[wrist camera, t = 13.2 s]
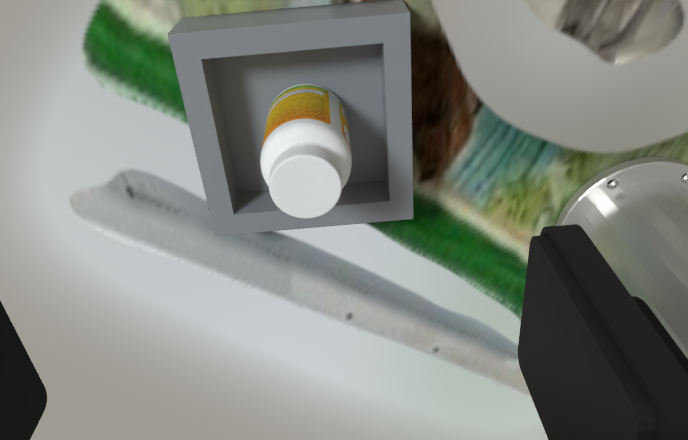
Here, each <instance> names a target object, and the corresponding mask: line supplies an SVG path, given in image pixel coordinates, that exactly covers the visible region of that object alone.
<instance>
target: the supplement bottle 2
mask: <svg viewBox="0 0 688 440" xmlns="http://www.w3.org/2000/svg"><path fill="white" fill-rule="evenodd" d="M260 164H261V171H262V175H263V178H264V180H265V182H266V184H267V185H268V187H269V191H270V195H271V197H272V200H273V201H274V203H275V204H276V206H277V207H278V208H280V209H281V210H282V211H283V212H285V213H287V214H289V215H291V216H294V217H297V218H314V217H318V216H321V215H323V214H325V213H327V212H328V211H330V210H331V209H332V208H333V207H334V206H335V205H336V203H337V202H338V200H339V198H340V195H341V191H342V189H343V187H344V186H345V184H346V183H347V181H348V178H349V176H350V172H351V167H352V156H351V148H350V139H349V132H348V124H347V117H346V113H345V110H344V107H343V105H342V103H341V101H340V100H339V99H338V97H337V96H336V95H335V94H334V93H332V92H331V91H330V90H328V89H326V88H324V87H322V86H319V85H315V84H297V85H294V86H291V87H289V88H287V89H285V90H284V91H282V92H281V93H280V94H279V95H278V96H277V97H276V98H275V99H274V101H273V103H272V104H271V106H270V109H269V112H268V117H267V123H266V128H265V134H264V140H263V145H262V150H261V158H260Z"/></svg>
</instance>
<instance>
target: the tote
mask: <svg viewBox="0 0 688 440" xmlns="http://www.w3.org/2000/svg"><path fill="white" fill-rule="evenodd" d="M168 38H169V42H170V46H171V51H172V55H173V59H174V63H175V68H176V72H177V76H178V80H179V85H180V89H181V93H182V97H183V101H184V106H185V110H186V114H187V118H188V123H189V127H190V131H191V135H192V139H193V144H194V148H195V152H196V156H197V160H198V165H199V169H200V173H201V178H202V182H203V186H204V190H205V194H206V199H207V203H208V207H209V211H210V216H211V220H212V224H213V228H214V233H215V236H219V235H231V234H243V233H254V232H266V231H278V230H289V229H300V228H312V227H325V226H336V225H348V224H360V223H371V222H383V221H395V220H406V219H413V162H412V98H411V34H410V11H409V10H408V8H407V6H406V5H405V3H404V1H403V0H378V1H367V2H356V3H344V4H333V5H322V6H311V7H299V8H288V9H277V10H266V11H255V12H243V13H232V14H221V15H210V16H199V17H187V18H181V19H180V20H179V22H178V23H177V24H176V25H175V26H174V27H173V28H172V30H171V31H170V32H169V33H168ZM297 84H315V85H319V86H322V87H324V88H326V89H328V90H330V91H331V92H332V93H334V94H335V95H336V96H337V97H338V99H339V100H340V101H341V103H342V105H343V107H344V110H345V113H346V117H347V124H348V132H349V139H350V148H351V156H352V167H351V172H350V176H349V178H348V181H347V183H346V184H345V186H344V187H343V189H342V191H341V195H340V198H339V200H338V202H337V203H336V205H335V206H334V207H333V208H332V209H331V210H330V211H328V212H327V213H325V214H323V215H321V216H318V217H314V218H297V217H294V216H291V215H289V214H287V213H285V212H283V211H282V210H281V209H280V208H278V207H277V206H276V204H275V203H274V201H273V200H272V197H271V195H270V191H269V187H268V185H267V184H266V182H265V180H264V178H263V175H262V171H261V164H260V158H261V150H262V145H263V140H264V134H265V128H266V123H267V117H268V112H269V109H270V106H271V104H272V103H273V101H274V99H275V98H276V97H277V96H278V95H279V94H280V93H281V92H282V91H284V90H285V89H287V88H289V87H291V86H294V85H297Z"/></svg>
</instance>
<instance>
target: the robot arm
mask: <svg viewBox="0 0 688 440" xmlns="http://www.w3.org/2000/svg"><path fill="white" fill-rule="evenodd" d="M518 359H519V365H520V368H521V371H522V374H523V376H524V379H525V381H526V384H527V386H528V389H529V392H530V394H531V397H532V399H533V402H534V404H535V407H536V409H537V412H538V414H539V417H540V419H541V422H542V424H543V427H544V429H545V432H546V434H547V437H548V439H549V440H688V164H687V163H685V162H683V161H679V160H676V159H673V158H665V157H647V158H638V159H634V160H630V161H626V162H623V163H621V164H618V165H616V166H613V167H611V168H608V169H607V170H605V171H603V172H602V173H600V174H598V175H596V176H595V177H593V178H592V179H591V180H589V181H588V182H587V183H586V184H584V185H583V186H582V187H581V188H580V189H579V190H578V191H577V192H576V193H575V194H574V195H573V196H572V197H571V198H570V200H569V201H568V202H567V204H566V206H565V207H564V209H563V210H562V212H561V214H560V216H559V218H558V221H557V223H556V226H550V227H544V228H543V229H542V231H541V234H540V236H533V237H532V239H531V242H530V248H529V257H528V266H527V275H526V283H525V292H524V301H523V309H522V318H521V327H520V336H519V344H518ZM46 403H47V393H46V390H45V387H44V385H43V383H42V381H41V379H40V377H39V375H38V373H37V372H36V369H35V368H34V365H33V363H32V362H31V360H30V358H29V356H28V354H27V352H26V350H25V348H24V346H23V344H22V342H21V340H20V338H19V336H18V334H17V332H16V330H15V328H14V327H13V324H12V323H11V321H10V319H9V317H8V315H7V313H6V311H5V309H4V307H3V305H2V303H1V301H0V440H30V438H31V436H32V434H33V432H34V430H35V428H36V426H37V424H38V422H39V420H40V418H41V416H42V414H43V412H44V410H45V407H46Z"/></svg>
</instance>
